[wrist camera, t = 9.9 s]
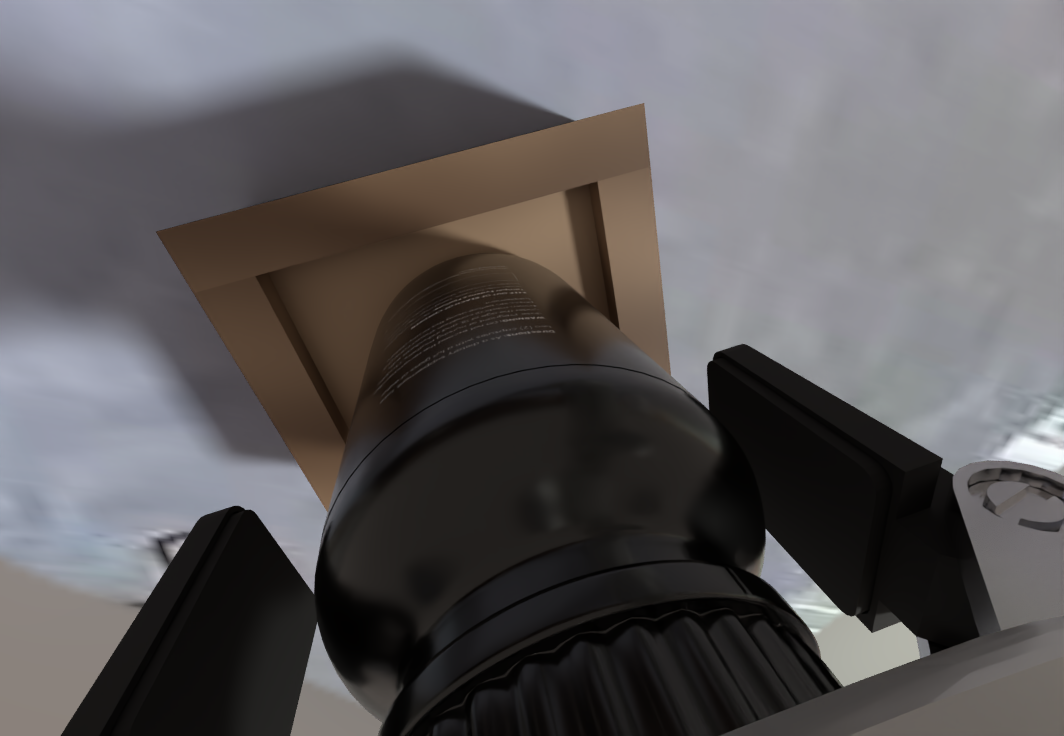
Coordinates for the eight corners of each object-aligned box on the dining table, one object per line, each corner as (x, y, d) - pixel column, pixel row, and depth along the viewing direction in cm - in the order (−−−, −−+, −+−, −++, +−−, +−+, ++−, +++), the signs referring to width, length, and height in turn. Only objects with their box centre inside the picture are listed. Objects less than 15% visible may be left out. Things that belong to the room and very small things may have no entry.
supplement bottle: (366, 442, 14) (187, 1237, 4) (385, 227, 12) (-8, 812, 1) (564, 454, 16) (818, 1009, 6) (617, 271, 14) (1262, 654, 3)
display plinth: (247, 207, 15) (155, 231, 10) (575, 120, 16) (644, 102, 11) (380, 470, 21) (364, 572, 16) (620, 393, 22) (679, 465, 17)
